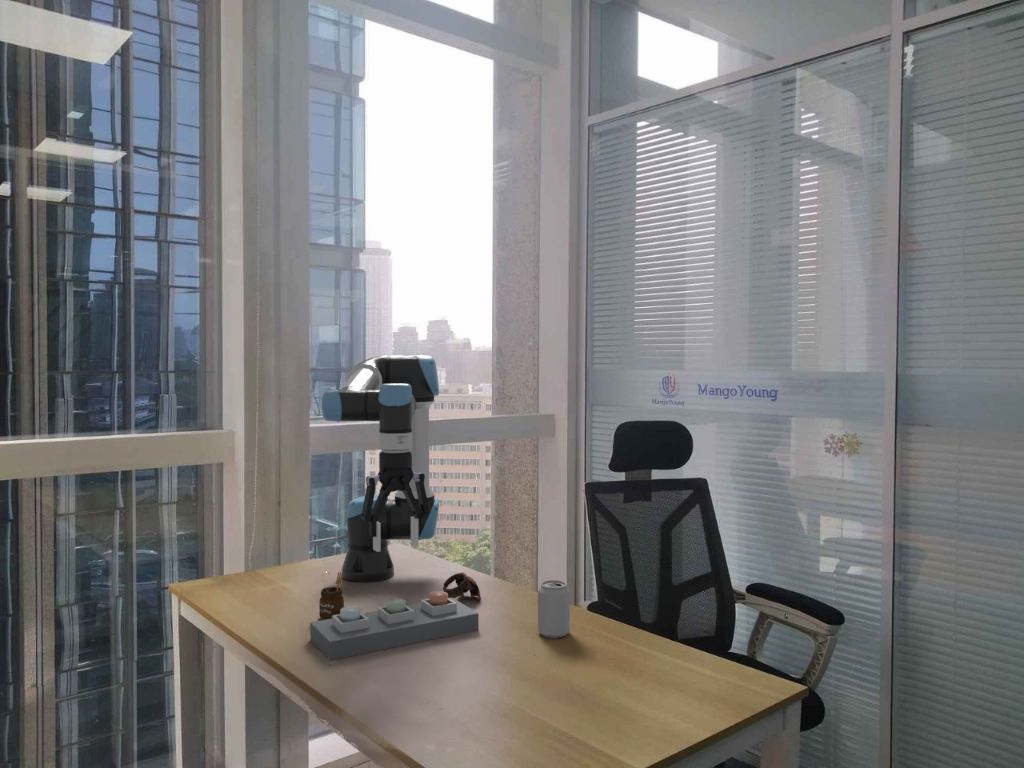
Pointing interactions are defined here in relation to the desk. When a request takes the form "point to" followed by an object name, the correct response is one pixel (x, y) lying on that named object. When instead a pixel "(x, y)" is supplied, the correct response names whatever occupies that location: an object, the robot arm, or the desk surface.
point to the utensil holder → (331, 600)
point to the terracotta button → (438, 598)
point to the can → (553, 608)
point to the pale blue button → (350, 613)
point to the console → (392, 628)
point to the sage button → (395, 605)
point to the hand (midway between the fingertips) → (395, 547)
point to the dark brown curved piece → (461, 586)
